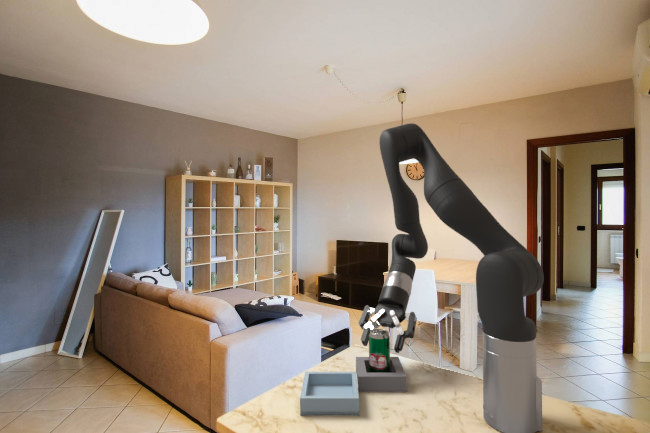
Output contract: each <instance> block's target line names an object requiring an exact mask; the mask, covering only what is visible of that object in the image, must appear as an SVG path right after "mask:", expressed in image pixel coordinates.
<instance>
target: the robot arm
mask: <svg viewBox="0 0 650 433" xmlns="http://www.w3.org/2000/svg"><path fill="white" fill-rule="evenodd" d="M379 150H380V155H381V159H382V163H383V167H384V172H385V176H386V179H387V184H388V186H389V191H390V194H391V199H392V205H393V206H392V208H393V215H394V224H395V227H396V229H397V230H399V231H400V232H403V233H398V234H396V235H394V237H393V238H392V241H391V264H390V266H389V271H388V273H387V275H386V278H385V279H384V283H383V286H382V289H381V292H380V295H379V297H378V298H379V299H378V301H377V305H376V307H375V308H374V307H370V306H369V305H368V304H367V305H365V306H364V307H363V308H364V309H363V311H362V313H361V315H360V318H359V320H358V325H359V327H360V328H361V330H362V333H361V338H360V341H361V344H362V346H364V347H368V345H369V334H370V331H371V330H373V329H379V327H382V328H388V329H394V328H396V330H397V332H398V334H397V335H396V338H395V339H396V340H395V343H394V348H393V351H395V354H396V353H397V354H399V353H400V352H402V350H403V347H404V344H405V341H406V339H408V338H409V339H413V338H415V332H416V326H417V321H418V320H417V319H418V318H417V315H416V314H415V312H414V311H411V312H407V309H408V304H409V300H410V296H411V295H412V288H413V281H414V277H415V275H416V274H415V273H416V268H417V266H416V264H415V262H414V261H413V260H411V259H415V260H417V259H418V260H419V259H423V258H424V257H425V256H427V254H428V250H429V244H428V241H427V237H426V234H425V233H424V231H423V228H422V224H421V219H420V207H419V206H420V205H419V201H418V198H417V196H416V194H415V192H413V190H412V189H411V188H410V187H409V186H410V185H408V183H406V181H405V180H404V178H403V176H402V174H401V171H400V163H402V162H405V161H409V160H413V159H415V160H416V161H417V162H418V163H419V164H420V166H421V168H422V169H423V173H424V175H423V176H424V177H423V196H424V199H425V201H426V203H427V204H428V206H429V207H430V208H431V210H433V212H434V213H435V215H436V216H437V217H438V218H439V220H441V222H442V223H443V224H444V225H446V226H447V227H448V228H450V229H451V230H453V231H454V232H456V233H457V234H459V235H460V236H462V237H463V238H465V239H466V240H467V241H469V242H470V243H471V244H472V245H474V246H475V247H476V248H477V249H478V250H479V252H481V253H482V255H483V257H481V258H480V260H479V262H478V264H477V267H476V271H475V272H476V273H475V286H476V288H475V289H476V303H477V313H478V317H479V319H480V321H481V325H482V385H483V386H482V395H483V396H482V398H483V399H482V400H483V402H482V409H483V419H484V421H485V422H486V423H487V425H489V426H490V427H491V428H493V429H495V430H497V431H499V432H501V433H536V432H543V381H542V379H541V378H540V377H539V376H538V375H537V372H538V371H537V370H538V369H537V326H536V323H535V321H533V319H531V318H530V317H527V316H526V314H525V305H524V302H525V301H524V297H527V296H531V295H534V294H536V293H537V292H539V291H540V290H541V288H542V287H543V286H544V281H545V276H544V270H543V268H542V266H541V263H540V261H539V260H538V259H537V258H536V257H535V255H534V254H532V253H531V251H529V250H528V249H527V248H526V247H525V246H524V245H523V244H522V243H520V241H518V240H517V239H516V238H515V237H514V236H513V235H512V233H510V232H509V231H507V230H506V228H504V226H502V224H501V223H500V222H499V221H498V220H497V219H496V218H495V216H493V214H492V213H491V212H490V211H489V209H488V208H487V207H486V206H485V205H484V204H483V203H482V202H481V200H479V198H478V197H477V195H475V194H474V192H473V191H472V190H471V188H470V187H469V186H468V185H467V184H466V183H465V182H464V181H463V180H462V178H461V177H460V176H459V175H458V174H457V173H456V172H455V171H454V169H452V168H451V166H450V165H449V164H448V162H446V160H445V159H444V157H442V155H441V154H440V152H439V151H438V150H437V148H436V147H435V145H434V144H433V142H432V141H431V139H430V138H429V136H428V135H427V134H426V133H425V131H424V130H423V129H422V127H421V126H419V125H418V124H416V123H405V124H401V125H397V126H394V127H390V128H386V129H384V130H382V131H381V133H380V136H379ZM404 320H407V326H406V327H407V328H406V330H404V328H403V327H402V324H401V323H402V322H404Z"/></svg>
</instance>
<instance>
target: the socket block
mask: <svg viewBox="0 0 650 433" xmlns="http://www.w3.org/2000/svg"><path fill="white" fill-rule="evenodd" d="M355 372H356V378H357V386H358V393H367V392H368V393H371V392H373V393H374V392H375V393H376V392H377V393H378V392H379V393H382V392H383V393H384V392H385V393H392V392H393V393H394V392H396V393H397V392H398V393H399V392H400V393H403V392H404V393H405V392H406V393H407V392H408V386H407V385H408V383H407V382H408V377H407V374H406V372H405V369H404V367H403V365H402V363H401V359H400V357H399V356H390V373H369V356H356V357H355Z"/></svg>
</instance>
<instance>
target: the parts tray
mask: <svg viewBox="0 0 650 433" xmlns="http://www.w3.org/2000/svg"><path fill="white" fill-rule="evenodd" d="M299 414H300V416H332V417H333V416H351V417H352V416H354V417H355V416H356V417H357V416H358V417H359V416H360V395H359V390H358V382H357V374H356V371H305V372H304V377H303V382H302V386H301V392H300V397H299Z"/></svg>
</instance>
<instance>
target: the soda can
mask: <svg viewBox="0 0 650 433" xmlns="http://www.w3.org/2000/svg"><path fill="white" fill-rule="evenodd" d="M390 338H391V336H390V334H389V331H388V330H387V329H383V328H377V329H376V328H375V329H373V330H371V331H370V334H369V341H368V357H369V373H390V357H391V346H390V345H391V341H390V340H391V339H390Z"/></svg>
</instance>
